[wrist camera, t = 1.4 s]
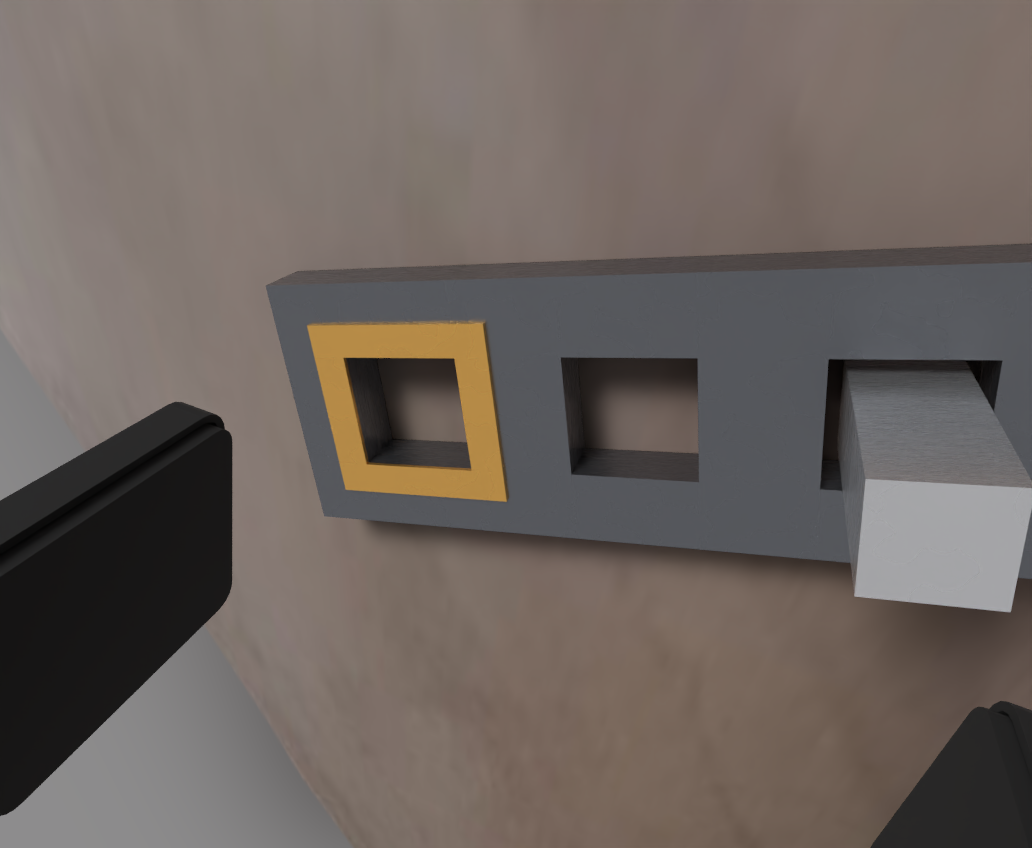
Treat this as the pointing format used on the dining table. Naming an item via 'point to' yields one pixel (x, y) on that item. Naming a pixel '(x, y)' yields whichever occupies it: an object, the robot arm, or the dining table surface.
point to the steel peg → (929, 486)
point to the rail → (639, 334)
